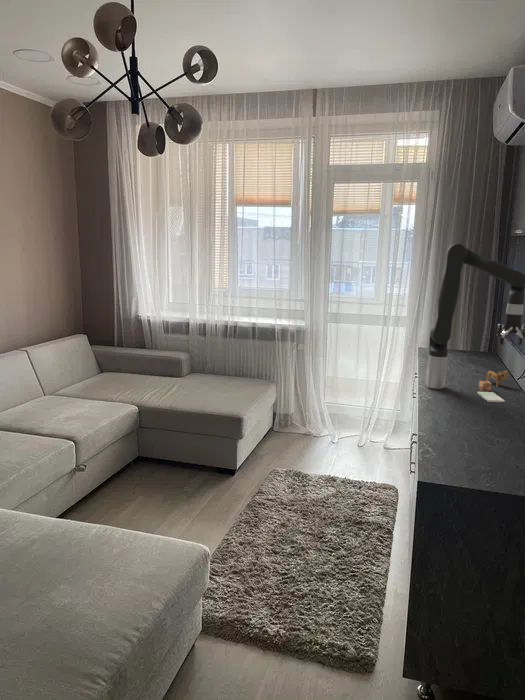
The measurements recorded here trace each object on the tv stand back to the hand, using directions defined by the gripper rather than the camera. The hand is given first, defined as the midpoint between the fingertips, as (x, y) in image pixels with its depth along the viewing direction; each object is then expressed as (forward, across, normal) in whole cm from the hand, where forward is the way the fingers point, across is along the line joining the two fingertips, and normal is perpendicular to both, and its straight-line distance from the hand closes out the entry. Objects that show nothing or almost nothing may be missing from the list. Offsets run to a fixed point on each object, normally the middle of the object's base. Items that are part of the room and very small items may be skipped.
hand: (510, 345), depth 251 cm
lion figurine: (+26, +4, +20) cm, 34 cm away
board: (+26, -8, -5) cm, 28 cm away
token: (+26, -6, +8) cm, 28 cm away
